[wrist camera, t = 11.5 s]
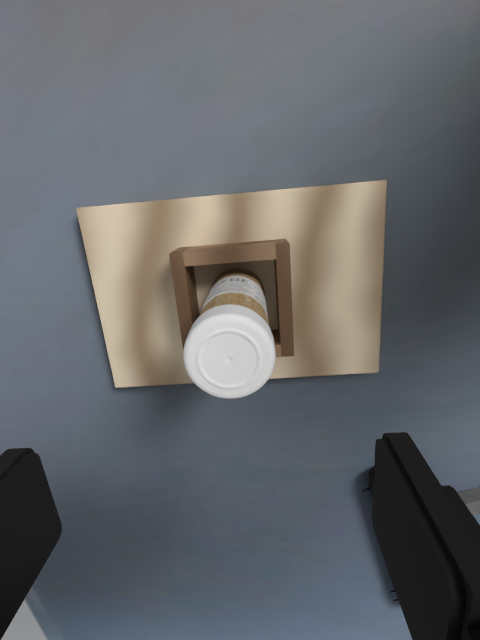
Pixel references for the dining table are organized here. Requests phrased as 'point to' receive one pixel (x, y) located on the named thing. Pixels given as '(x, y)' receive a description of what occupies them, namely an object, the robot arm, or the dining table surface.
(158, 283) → the spice stand
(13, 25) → the dining table surface
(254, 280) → the sprinkles bottle
